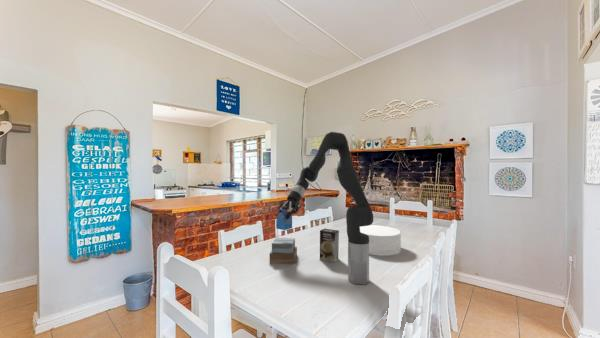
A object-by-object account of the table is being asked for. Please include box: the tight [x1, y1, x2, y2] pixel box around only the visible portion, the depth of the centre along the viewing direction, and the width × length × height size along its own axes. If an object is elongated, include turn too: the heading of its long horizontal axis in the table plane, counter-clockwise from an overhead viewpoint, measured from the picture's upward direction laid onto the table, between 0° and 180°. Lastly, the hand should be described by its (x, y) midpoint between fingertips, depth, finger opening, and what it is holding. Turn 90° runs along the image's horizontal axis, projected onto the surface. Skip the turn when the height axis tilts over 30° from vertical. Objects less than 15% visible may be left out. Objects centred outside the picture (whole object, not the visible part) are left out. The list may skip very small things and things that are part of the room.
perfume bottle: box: [275, 206, 293, 231], centre depth 139 cm, size 6×6×12 cm
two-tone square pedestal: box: [269, 237, 298, 265], centre depth 139 cm, size 13×13×10 cm
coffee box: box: [319, 228, 340, 263], centre depth 138 cm, size 9×6×16 cm
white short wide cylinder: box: [360, 224, 402, 257], centre depth 159 cm, size 28×28×12 cm
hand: (282, 217), depth 138 cm, fingers closed on perfume bottle, 6 cm apart
